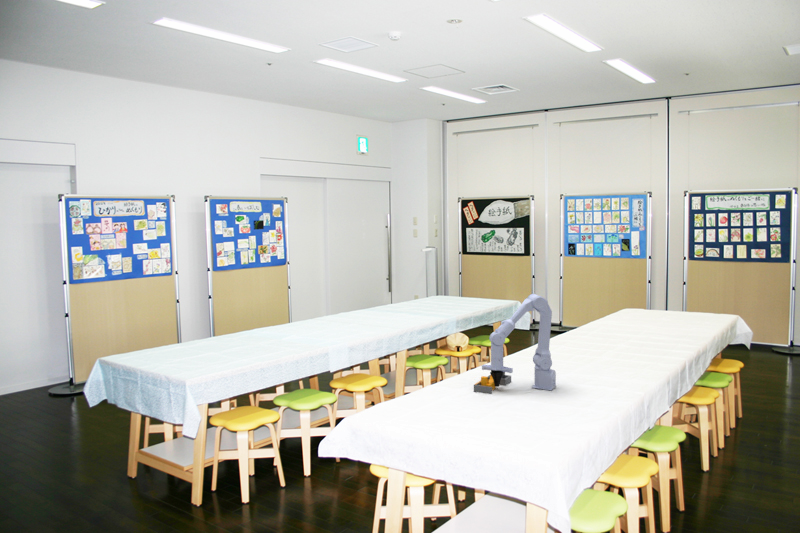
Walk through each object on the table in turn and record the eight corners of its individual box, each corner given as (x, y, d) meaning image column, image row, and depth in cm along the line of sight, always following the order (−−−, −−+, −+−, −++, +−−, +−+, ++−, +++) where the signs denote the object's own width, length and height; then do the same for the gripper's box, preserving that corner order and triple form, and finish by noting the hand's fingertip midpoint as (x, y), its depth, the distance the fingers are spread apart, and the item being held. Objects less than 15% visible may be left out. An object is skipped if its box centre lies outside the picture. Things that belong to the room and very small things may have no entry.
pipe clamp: (489, 392, 271) (489, 378, 271) (481, 390, 274) (481, 377, 273) (500, 386, 281) (500, 372, 280) (492, 384, 283) (492, 371, 283)
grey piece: (511, 381, 287) (511, 370, 287) (493, 394, 267) (493, 382, 267) (492, 379, 292) (492, 368, 292) (473, 391, 272) (473, 379, 272)
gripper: (479, 357, 274) (479, 386, 275) (508, 361, 267) (508, 390, 268) (485, 354, 280) (485, 382, 281) (514, 357, 273) (514, 386, 274)
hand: (497, 386), depth 275 cm, fingers closed
